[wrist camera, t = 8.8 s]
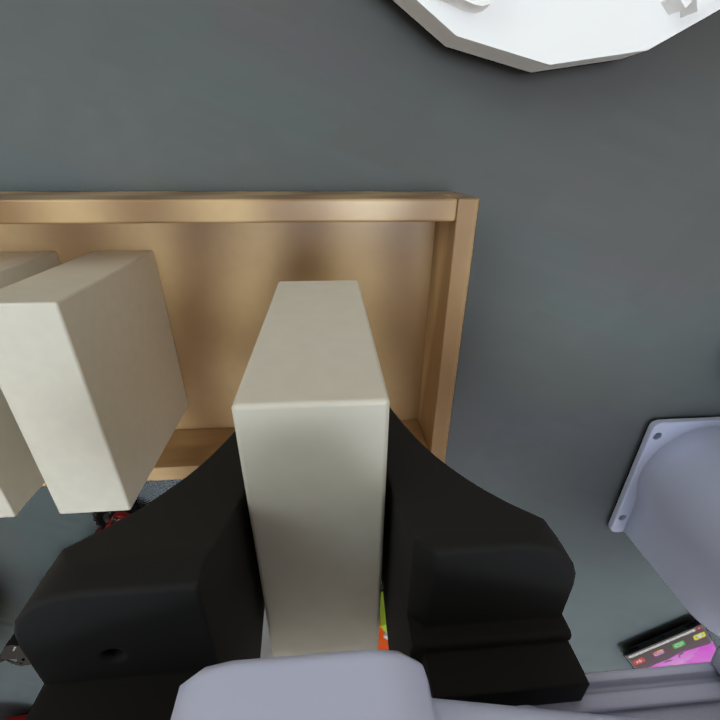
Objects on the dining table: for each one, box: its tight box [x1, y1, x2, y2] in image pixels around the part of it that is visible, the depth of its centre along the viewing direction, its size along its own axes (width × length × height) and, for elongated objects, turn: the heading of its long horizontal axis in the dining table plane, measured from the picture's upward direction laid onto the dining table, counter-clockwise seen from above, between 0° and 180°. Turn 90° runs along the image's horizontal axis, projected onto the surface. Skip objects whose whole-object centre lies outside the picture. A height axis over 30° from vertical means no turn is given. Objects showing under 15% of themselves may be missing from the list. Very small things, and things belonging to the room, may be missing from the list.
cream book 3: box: [231, 280, 390, 657], centre depth 11 cm, size 2×8×7 cm, turn 0°
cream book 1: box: [0, 251, 60, 518], centre depth 15 cm, size 2×8×7 cm, turn 0°
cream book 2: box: [0, 250, 188, 514], centre depth 16 cm, size 2×8×7 cm, turn 0°
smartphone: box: [623, 620, 717, 669], centre depth 38 cm, size 7×15×1 cm, turn 36°
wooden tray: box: [0, 191, 479, 486], centre depth 18 cm, size 24×13×4 cm, turn 90°
